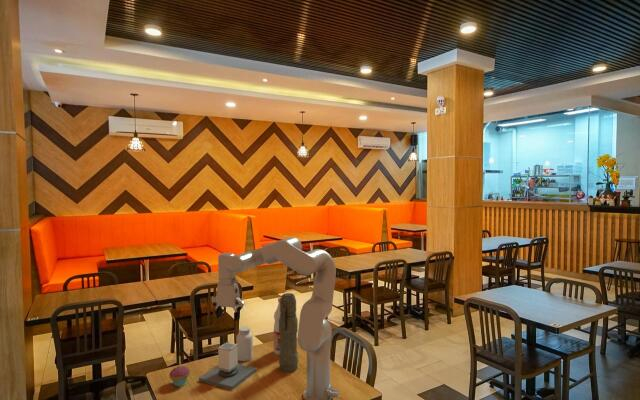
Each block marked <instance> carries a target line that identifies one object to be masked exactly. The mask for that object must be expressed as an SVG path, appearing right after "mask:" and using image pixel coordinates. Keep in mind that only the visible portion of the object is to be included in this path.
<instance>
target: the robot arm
mask: <svg viewBox="0 0 640 400" xmlns="http://www.w3.org/2000/svg"><path fill="white" fill-rule="evenodd" d="M217 262H218V263H217V266H218V267H217V268H218V271H217V272H218V284H217V287H216V292H215V293H216V296H213V297H212V298H211V301H212V305H213V306H214V309H215V311H216V313H215V314H216V317H215V318H216V319H220V318H221V317H222V316H223V307H224V308H232V309H233V311H234V312H233V321H234V322H237V321H239V320H240V317H241V316H240V311H242V309H243V307H244V306H245V302H244V300H242V299H241V298H240V296H241V295H240V290H239V285H238V279H237V277H236V275H237V273H242V272H244V271H248V270H249V269H252V268H253V269H254V268H256V267H258V266H261V265H266V264H268V265H272V264H277V263H281V264H283V265H284V266H287V267H288V268H290V269H291V270H293V271H295V272H297V273H299V274H300V275H303V276H311V275H313V274H314V273H315V277H314V281H313V283H312V284H313V285H312V287H313V288H312V294H311V297H310V298H309V299H307V300H306V301H305V302H304V303H303V305H302V307H301V310H300V314H299V322H298V331H297V342H298V343H297V344H298V345H299V347H300V348H301V350H302V351H304V352H306V388H305V389H304V390H303V392H302V397H303V399H304V400H331V399H332V398H333V399H334V398H337V399H338V398H340V393H339V389H336V388H333V384H332V383H331V344H332V335H333V334H332V333H333V332H332V326H331V324H330V322H329V321H328V320H327V319H326V318H327V317H329V315H330V314H331V313H332V310H333V304H334V303H333V301H334V295H335V293H334V292H335V284H336V275H337V269H336V267H337V266H336V263H335V260H334V259H333V257H332V256H331V254H330V253H329V252H327V251H326V250H324V249H321V248H317V249H316V248H315V249H312V250H308V251H306V252H305V251H303V245H302V242H301V241H300V240H299V238H297V237H293V236H289V237H286V238H282V239H280V240H276V241H274V242H270V243H266V244H265V245H263V246H261V247H260V248H256V249H253V250H250V251H246V252H243V253H240V254H236V255H235V253H233V252H223V253H219V255H218V257H217ZM333 399H332V400H333Z"/></svg>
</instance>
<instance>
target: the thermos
mask: <svg viewBox="0 0 640 400" xmlns="http://www.w3.org/2000/svg"><path fill="white" fill-rule="evenodd" d="M280 298H281V299H280V312H281V314H280V318H279V333H280V354H279V355H278V365H279V366H278V367H279V370H280V371H281V372H283V373H293V372H295V371H297V370H298V368H299V365H298V363H299V352H298V348H297V346H298V345H297V344H298V343H297V342H298V329H299V322H298V317H297V299H296V296H295V294H293V293H290V292H288V293H287V292H286V293H283V294H282V295H281V296H280Z"/></svg>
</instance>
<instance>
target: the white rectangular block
mask: <svg viewBox="0 0 640 400" xmlns="http://www.w3.org/2000/svg"><path fill="white" fill-rule="evenodd" d="M217 348H218V349H217V350H218V353H217V354H218V358H217V359H218V365H219V367H218V369H220V370H224V371H228V372H230V371H231V370H233V369H234V368H236V367H237V366H238V364H239V363H238V362H239V360H238V345H237V344H236V343H232V342H228V341H227V342H225V343H222V345H220V346H218V347H217Z"/></svg>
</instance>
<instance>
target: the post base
mask: <svg viewBox="0 0 640 400" xmlns="http://www.w3.org/2000/svg"><path fill="white" fill-rule="evenodd" d="M218 367H219V364H218V365H216V366H215V367H214V368H213V367H212V369H210V370H209V371H207V372H206V373H204V374H203V375H201V376H200V377H199V378H198V382H200V383H204V384H208V385H212V386H215V387H219V388H223V389H227V390H230V391H233V390H235V388H237V387H238V386H240V385H241V384H242V383H243V382H244V381H246V380H247V379H249V378H250V377H251V376H252V375H254V374H255V373H256V372H257V367H253V366H249V365H245V364H241V363H240V364H239V363H238V366H237V367H236V368H234V369H233V370H231V371H230V372H228V371H224V370H220V369H218Z"/></svg>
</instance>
